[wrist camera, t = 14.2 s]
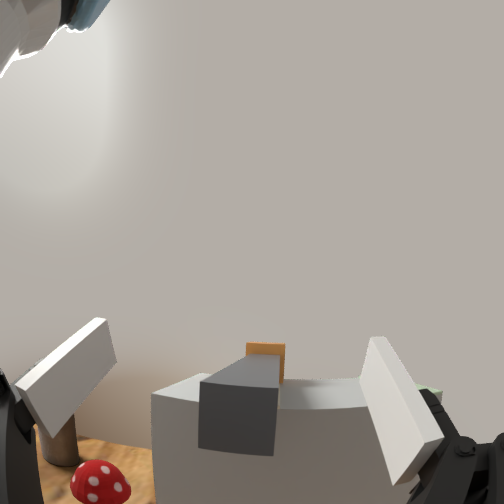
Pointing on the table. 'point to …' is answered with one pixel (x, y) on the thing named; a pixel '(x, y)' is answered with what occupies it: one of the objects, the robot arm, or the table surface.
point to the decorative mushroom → (99, 483)
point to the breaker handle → (242, 402)
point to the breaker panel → (277, 450)
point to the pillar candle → (61, 445)
